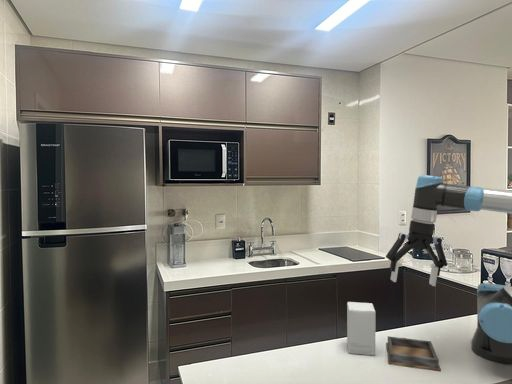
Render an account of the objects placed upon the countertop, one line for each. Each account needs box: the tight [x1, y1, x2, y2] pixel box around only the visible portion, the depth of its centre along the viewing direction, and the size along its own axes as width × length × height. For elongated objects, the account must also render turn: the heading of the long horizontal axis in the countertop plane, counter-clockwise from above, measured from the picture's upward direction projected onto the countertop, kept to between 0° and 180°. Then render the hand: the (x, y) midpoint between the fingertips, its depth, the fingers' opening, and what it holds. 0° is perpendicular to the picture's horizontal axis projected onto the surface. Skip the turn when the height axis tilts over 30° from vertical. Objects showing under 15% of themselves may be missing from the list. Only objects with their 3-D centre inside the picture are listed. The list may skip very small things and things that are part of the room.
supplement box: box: [346, 301, 377, 357], centre depth 123 cm, size 9×9×15 cm
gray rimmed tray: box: [385, 335, 442, 372], centre depth 118 cm, size 15×15×3 cm
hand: (412, 282), depth 121 cm, fingers open, 13 cm apart
